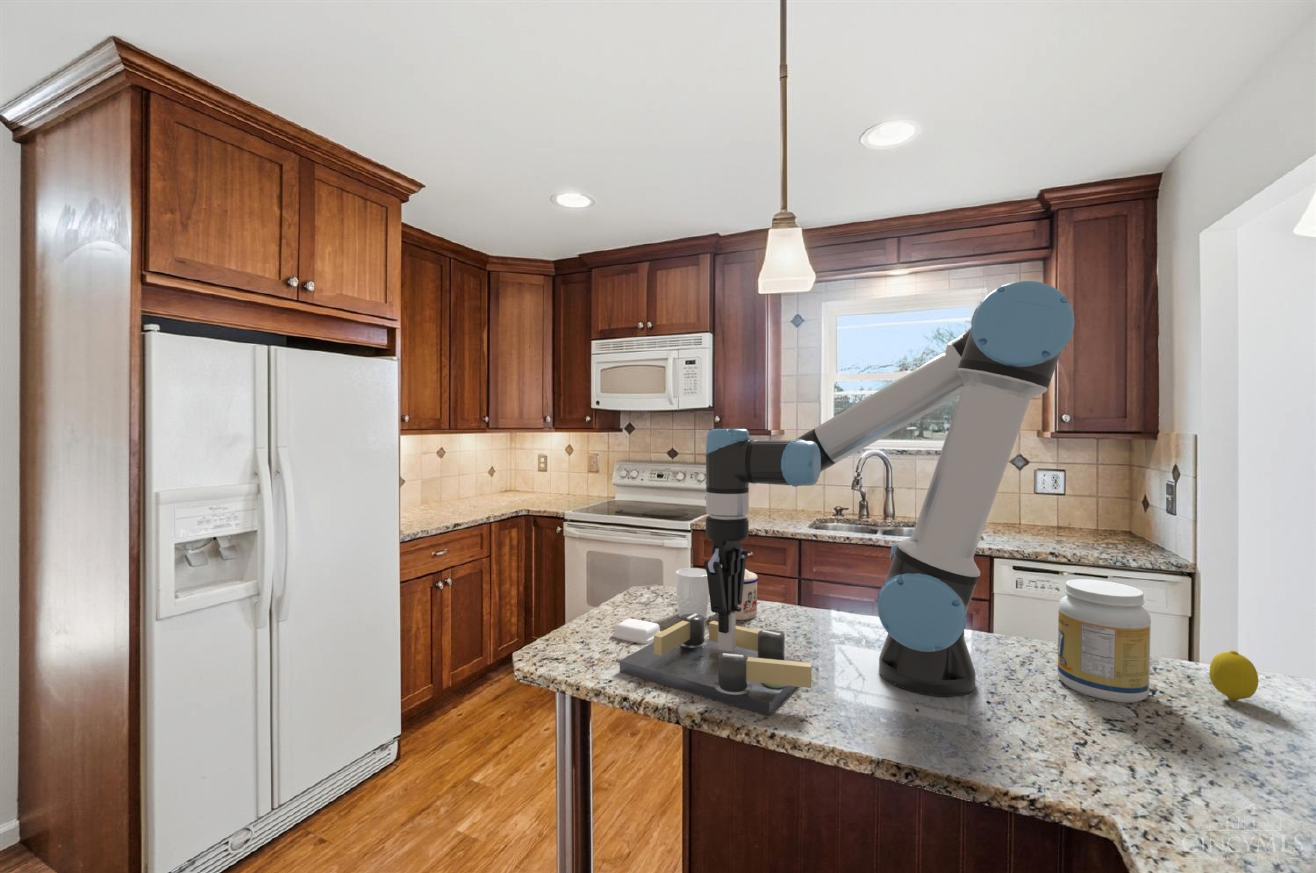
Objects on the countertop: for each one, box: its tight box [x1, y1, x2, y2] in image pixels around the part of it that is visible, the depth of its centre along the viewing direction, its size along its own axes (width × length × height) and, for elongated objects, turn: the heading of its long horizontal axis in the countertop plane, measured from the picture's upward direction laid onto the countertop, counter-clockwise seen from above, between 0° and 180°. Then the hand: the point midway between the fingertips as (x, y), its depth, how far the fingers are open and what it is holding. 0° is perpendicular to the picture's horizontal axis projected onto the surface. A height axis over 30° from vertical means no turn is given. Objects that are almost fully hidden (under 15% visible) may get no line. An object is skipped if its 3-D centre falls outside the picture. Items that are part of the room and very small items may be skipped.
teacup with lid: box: [735, 568, 759, 621], centre depth 136 cm, size 12×9×12 cm
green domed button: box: [763, 683, 787, 688], centre depth 94 cm, size 4×4×1 cm
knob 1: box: [653, 613, 706, 656], centre depth 108 cm, size 14×5×5 cm, turn 146°
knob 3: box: [718, 651, 812, 691], centre depth 92 cm, size 14×5×5 cm, turn 76°
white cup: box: [675, 567, 710, 619], centre depth 134 cm, size 8×8×10 cm
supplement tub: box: [1056, 578, 1152, 703], centre depth 97 cm, size 12×12×17 cm
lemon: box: [1209, 650, 1259, 702], centre depth 93 cm, size 6×6×8 cm
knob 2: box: [708, 620, 786, 660], centre depth 106 cm, size 14×5×5 cm, turn 56°
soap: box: [612, 617, 662, 645], centre depth 121 cm, size 9×7×3 cm
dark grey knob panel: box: [619, 637, 810, 717], centre depth 102 cm, size 28×19×2 cm
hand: (726, 648), depth 104 cm, fingers closed
